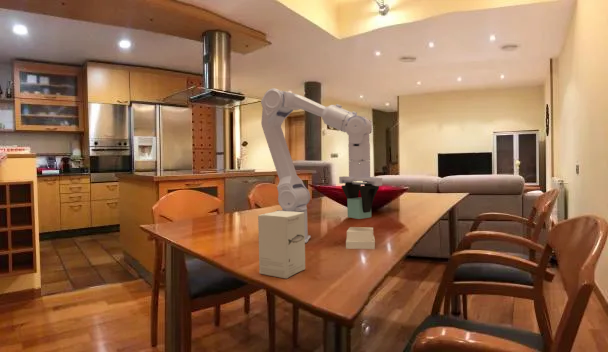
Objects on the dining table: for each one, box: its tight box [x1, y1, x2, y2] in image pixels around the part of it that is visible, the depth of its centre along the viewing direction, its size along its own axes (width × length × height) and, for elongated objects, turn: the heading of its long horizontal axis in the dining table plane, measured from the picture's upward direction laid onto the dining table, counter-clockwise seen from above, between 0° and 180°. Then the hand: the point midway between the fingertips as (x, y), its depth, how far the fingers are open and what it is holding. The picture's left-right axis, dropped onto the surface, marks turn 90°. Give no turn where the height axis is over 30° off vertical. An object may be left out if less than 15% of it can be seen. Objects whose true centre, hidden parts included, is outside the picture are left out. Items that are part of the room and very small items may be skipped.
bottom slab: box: [345, 235, 376, 250], centre depth 102 cm, size 8×8×2 cm
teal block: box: [346, 196, 372, 220], centre depth 101 cm, size 4×4×5 cm
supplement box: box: [257, 210, 306, 280], centre depth 80 cm, size 7×7×13 cm
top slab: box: [346, 226, 374, 242], centre depth 102 cm, size 6×6×2 cm
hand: (360, 211), depth 102 cm, fingers closed on teal block, 4 cm apart
